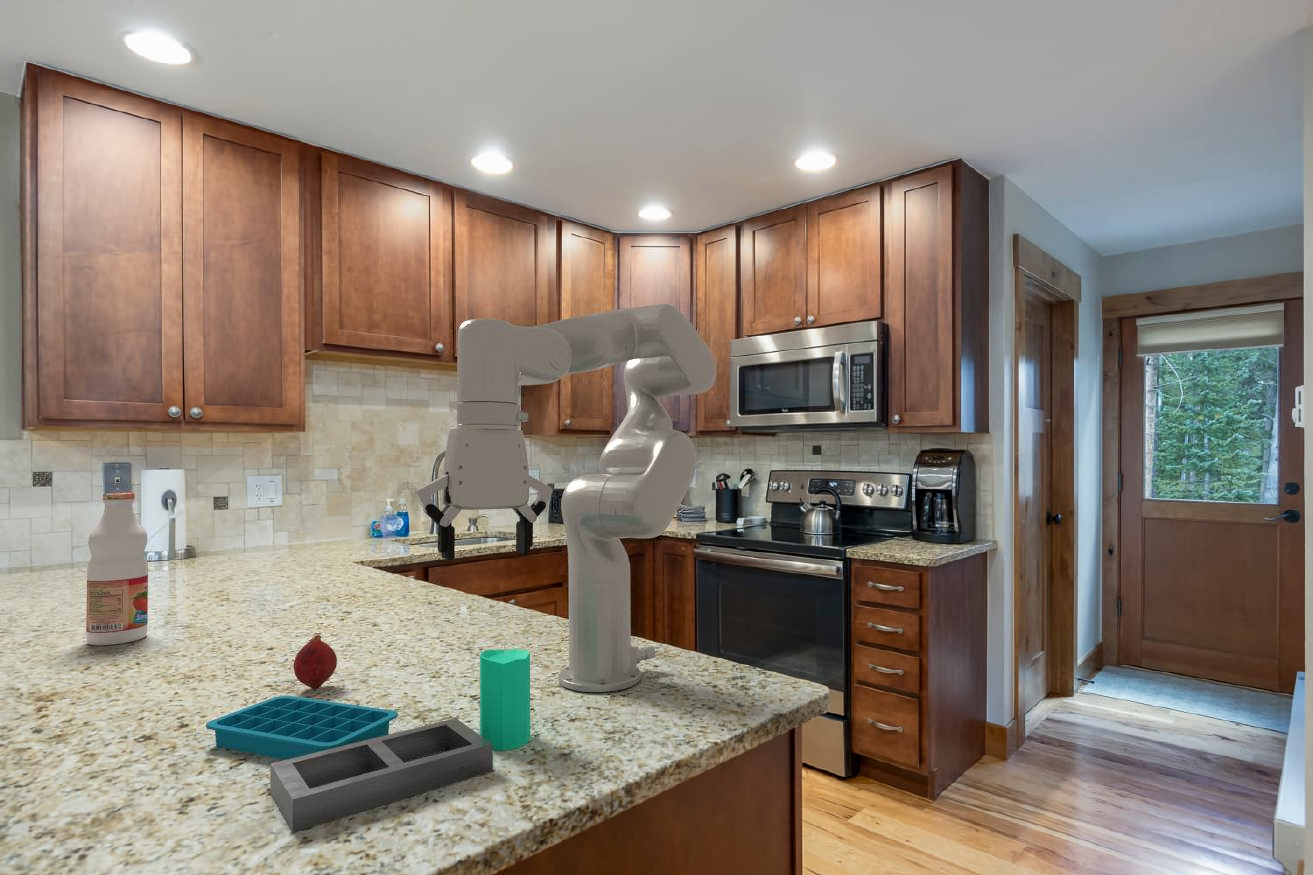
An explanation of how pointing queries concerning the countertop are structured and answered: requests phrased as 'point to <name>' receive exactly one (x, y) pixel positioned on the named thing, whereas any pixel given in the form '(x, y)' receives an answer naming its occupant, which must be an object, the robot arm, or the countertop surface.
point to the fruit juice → (117, 575)
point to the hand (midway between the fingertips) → (486, 555)
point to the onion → (315, 663)
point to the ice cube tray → (298, 726)
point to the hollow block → (377, 772)
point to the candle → (505, 697)
